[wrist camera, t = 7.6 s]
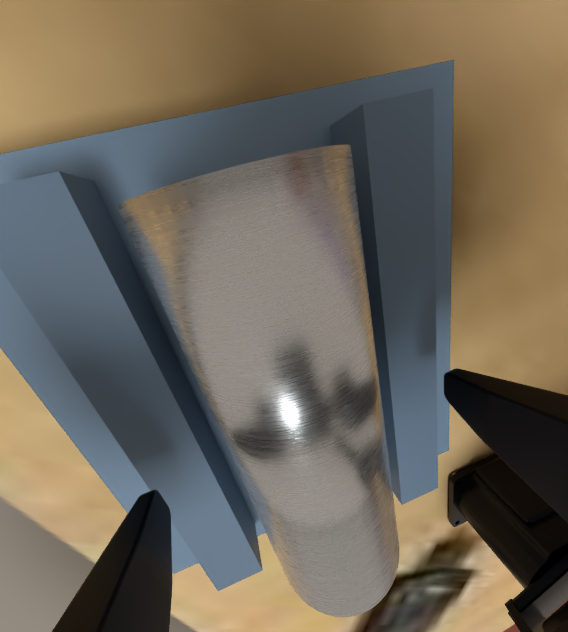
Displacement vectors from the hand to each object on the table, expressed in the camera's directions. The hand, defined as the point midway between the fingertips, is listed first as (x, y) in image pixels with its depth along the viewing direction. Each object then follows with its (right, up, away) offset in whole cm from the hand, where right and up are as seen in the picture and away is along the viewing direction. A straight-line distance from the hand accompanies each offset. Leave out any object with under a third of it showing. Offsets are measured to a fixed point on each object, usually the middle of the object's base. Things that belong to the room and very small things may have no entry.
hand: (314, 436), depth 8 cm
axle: (-1, +1, +3) cm, 4 cm away
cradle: (-2, +2, +6) cm, 6 cm away
